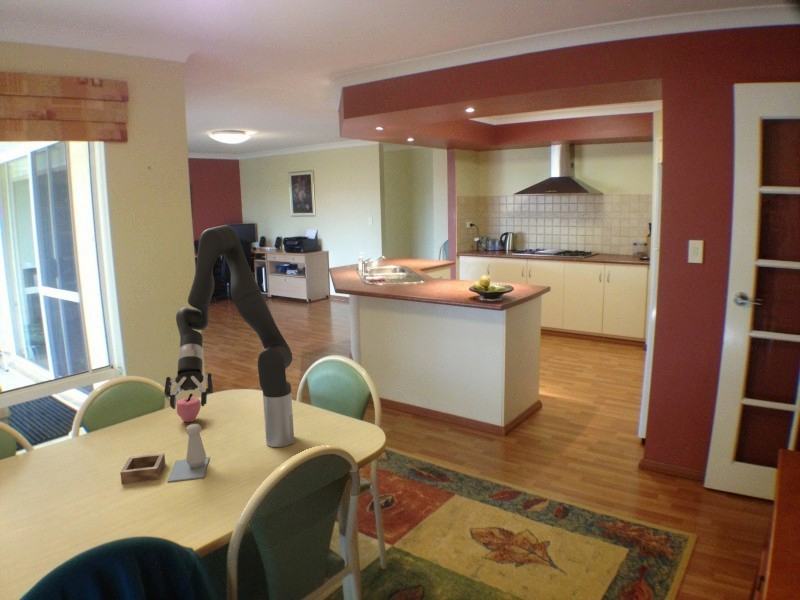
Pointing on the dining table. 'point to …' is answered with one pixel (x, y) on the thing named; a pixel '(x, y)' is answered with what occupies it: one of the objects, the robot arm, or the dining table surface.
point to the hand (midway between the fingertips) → (188, 406)
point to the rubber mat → (186, 471)
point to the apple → (188, 408)
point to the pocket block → (143, 468)
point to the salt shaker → (195, 447)
